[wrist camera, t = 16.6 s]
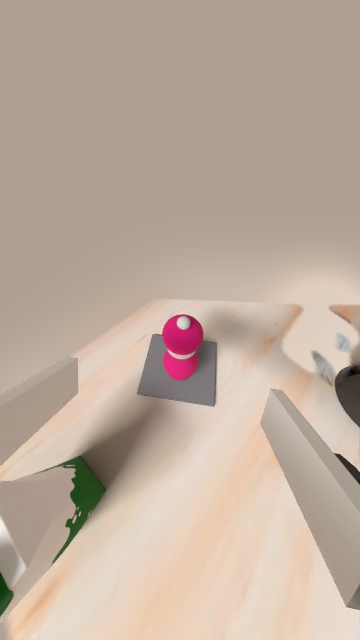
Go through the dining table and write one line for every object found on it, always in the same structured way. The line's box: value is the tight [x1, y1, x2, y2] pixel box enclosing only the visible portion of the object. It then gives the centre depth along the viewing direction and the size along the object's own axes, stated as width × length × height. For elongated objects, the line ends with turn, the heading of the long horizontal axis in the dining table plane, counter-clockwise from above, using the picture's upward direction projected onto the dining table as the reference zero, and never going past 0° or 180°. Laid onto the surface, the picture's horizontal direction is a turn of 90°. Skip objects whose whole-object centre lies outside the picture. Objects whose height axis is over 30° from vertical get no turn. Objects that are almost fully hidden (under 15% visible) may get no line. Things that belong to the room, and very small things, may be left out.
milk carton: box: [0, 456, 106, 623], centre depth 19 cm, size 9×9×20 cm
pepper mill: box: [162, 315, 203, 381], centre depth 29 cm, size 7×7×20 cm
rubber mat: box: [137, 334, 216, 406], centre depth 38 cm, size 16×14×1 cm
